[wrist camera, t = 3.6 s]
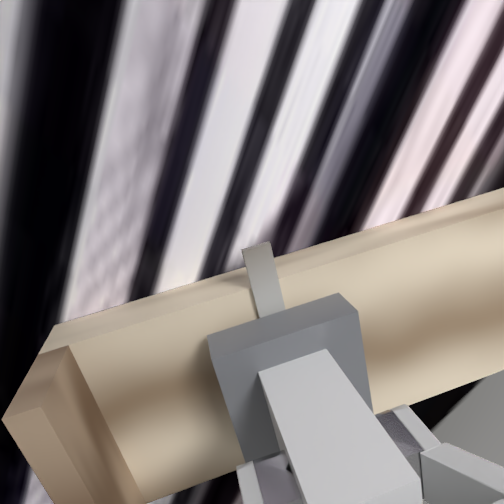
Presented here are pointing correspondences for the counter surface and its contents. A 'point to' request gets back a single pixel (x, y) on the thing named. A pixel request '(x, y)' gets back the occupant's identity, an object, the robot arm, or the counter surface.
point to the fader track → (241, 311)
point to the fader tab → (312, 403)
